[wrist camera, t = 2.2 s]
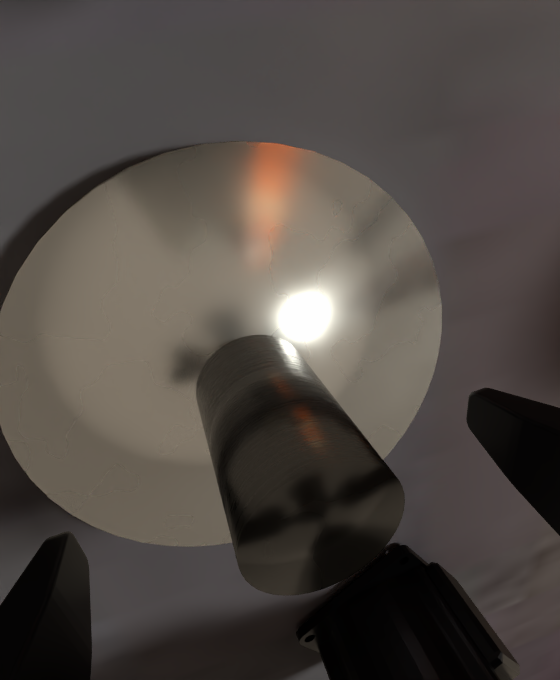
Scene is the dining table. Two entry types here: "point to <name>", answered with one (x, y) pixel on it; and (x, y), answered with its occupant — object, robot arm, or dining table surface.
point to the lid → (225, 358)
